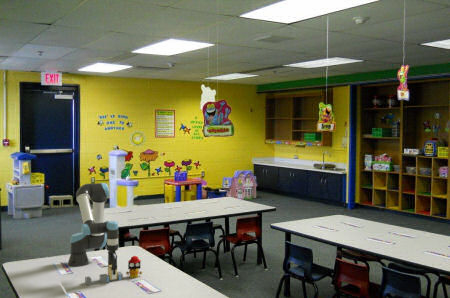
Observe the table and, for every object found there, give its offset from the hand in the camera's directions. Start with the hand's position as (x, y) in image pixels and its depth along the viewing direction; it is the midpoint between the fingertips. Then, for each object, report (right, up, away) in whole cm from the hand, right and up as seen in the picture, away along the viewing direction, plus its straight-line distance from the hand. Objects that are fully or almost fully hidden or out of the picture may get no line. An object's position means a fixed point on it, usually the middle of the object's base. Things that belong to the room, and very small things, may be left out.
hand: (112, 277), depth 308 cm
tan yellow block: (0, 0, 0) cm, 0 cm away
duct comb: (-5, -3, -3) cm, 6 cm away
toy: (+13, -3, +10) cm, 17 cm away
